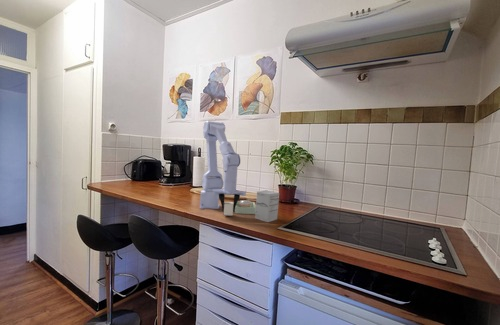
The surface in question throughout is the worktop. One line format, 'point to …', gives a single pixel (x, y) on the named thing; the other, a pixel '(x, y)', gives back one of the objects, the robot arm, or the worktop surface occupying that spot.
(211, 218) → the worktop surface
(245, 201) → the steel tin
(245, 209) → the sage tote
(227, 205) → the cream carton
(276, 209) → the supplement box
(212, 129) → the robot arm
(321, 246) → the worktop surface
